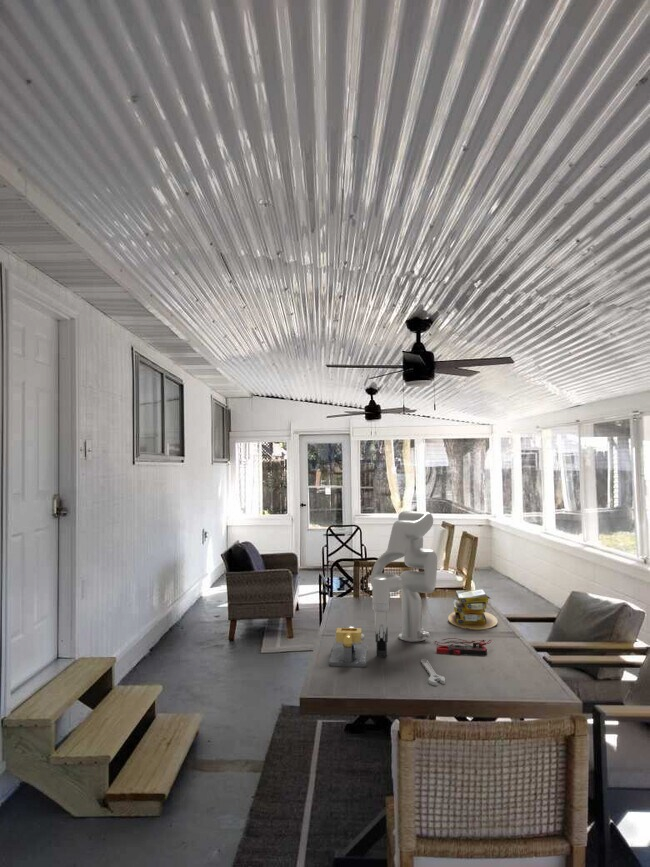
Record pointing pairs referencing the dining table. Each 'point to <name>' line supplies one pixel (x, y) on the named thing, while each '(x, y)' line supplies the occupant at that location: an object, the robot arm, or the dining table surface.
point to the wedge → (384, 653)
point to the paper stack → (472, 610)
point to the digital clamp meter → (463, 648)
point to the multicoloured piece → (349, 648)
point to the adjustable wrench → (432, 674)
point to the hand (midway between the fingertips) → (381, 649)
